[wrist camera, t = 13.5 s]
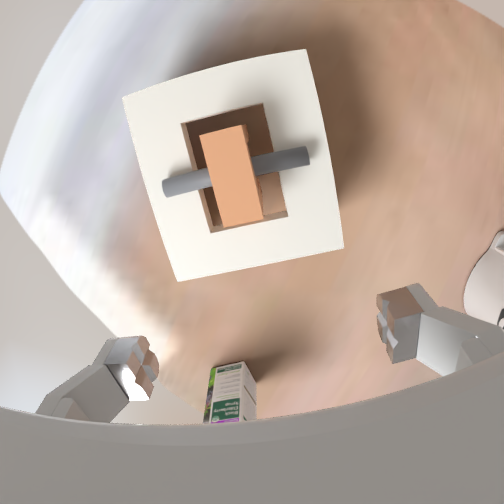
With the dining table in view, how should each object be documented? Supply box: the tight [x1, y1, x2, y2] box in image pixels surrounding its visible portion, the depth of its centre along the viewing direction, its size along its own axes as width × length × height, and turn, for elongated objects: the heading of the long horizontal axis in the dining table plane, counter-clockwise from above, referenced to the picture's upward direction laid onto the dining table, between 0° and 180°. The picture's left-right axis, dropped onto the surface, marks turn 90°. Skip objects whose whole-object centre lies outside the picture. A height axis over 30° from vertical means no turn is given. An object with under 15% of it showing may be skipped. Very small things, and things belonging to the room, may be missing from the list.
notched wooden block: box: [199, 125, 263, 228], centre depth 26 cm, size 3×7×10 cm, turn 13°
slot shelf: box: [122, 49, 344, 282], centre depth 29 cm, size 16×18×12 cm
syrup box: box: [203, 361, 256, 424], centre depth 41 cm, size 6×6×14 cm
